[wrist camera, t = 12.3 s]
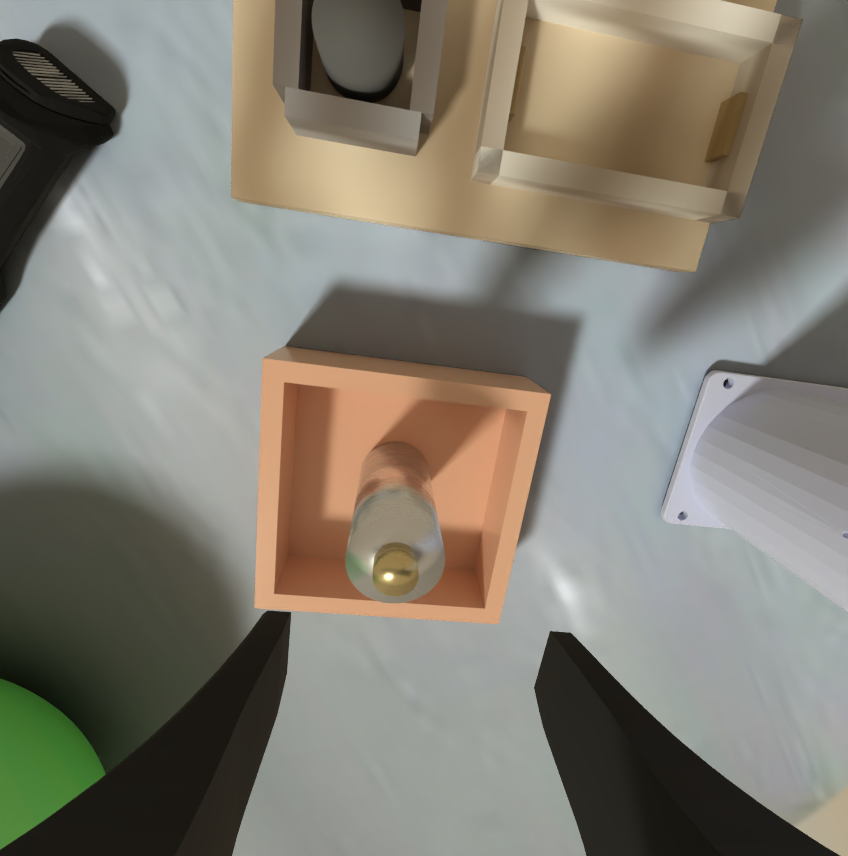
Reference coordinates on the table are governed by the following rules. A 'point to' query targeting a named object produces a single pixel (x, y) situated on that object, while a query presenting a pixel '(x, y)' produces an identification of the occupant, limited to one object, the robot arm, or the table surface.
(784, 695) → the table surface
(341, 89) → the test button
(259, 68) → the wooden board with compartments
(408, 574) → the cell
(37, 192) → the electric trimmer
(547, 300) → the table surface
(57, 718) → the toy bird
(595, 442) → the table surface
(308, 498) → the dish
